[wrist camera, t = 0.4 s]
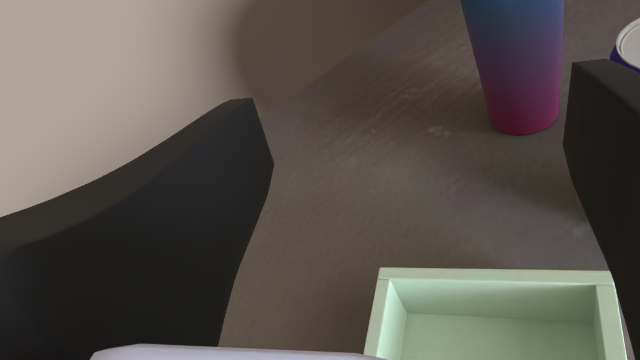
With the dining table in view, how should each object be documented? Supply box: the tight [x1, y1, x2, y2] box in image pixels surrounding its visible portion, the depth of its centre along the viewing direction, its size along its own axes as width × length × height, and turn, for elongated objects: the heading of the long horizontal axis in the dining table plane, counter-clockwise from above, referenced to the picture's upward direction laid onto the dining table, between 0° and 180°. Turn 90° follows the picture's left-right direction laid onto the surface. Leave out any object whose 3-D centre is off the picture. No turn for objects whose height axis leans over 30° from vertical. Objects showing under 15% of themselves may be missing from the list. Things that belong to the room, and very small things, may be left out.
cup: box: [460, 0, 564, 135], centre depth 33 cm, size 7×7×15 cm
